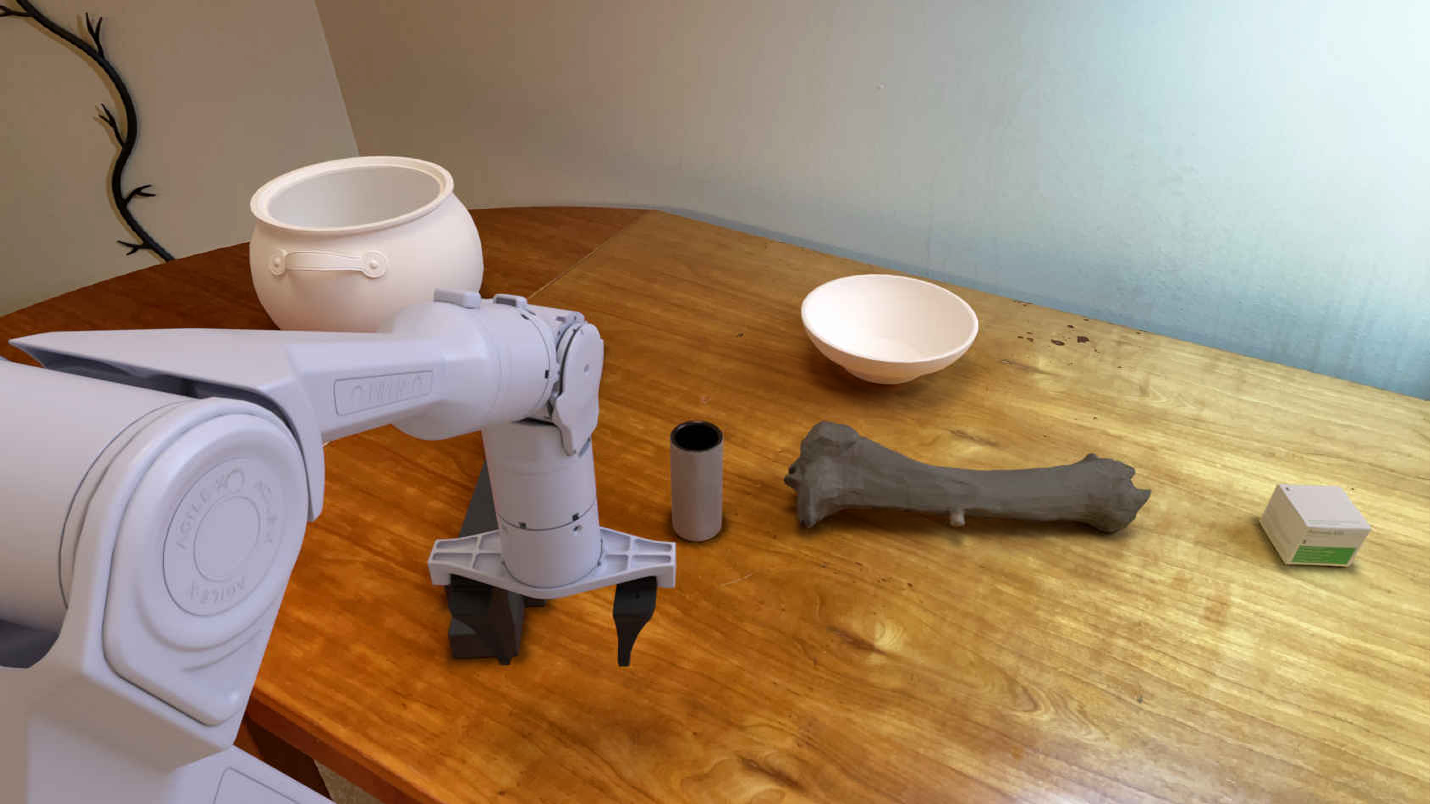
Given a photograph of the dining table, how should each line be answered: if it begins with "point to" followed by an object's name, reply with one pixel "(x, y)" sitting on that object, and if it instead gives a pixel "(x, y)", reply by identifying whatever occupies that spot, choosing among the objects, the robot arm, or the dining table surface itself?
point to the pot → (359, 242)
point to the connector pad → (472, 644)
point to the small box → (1314, 525)
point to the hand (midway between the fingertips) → (566, 653)
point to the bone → (955, 485)
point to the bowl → (888, 326)
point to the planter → (696, 479)
